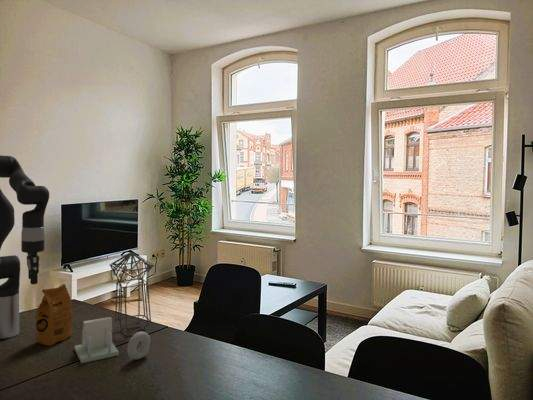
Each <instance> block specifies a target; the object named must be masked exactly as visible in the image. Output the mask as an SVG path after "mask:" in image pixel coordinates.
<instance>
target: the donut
mask: <svg viewBox="0 0 533 400" xmlns="http://www.w3.org/2000/svg"><path fill="white" fill-rule="evenodd" d="M133 334H134V335H132V336H130V337H131V338H130V339H129V340H128V343H127V348H126V351H127V356H128V357H129V358H131V360H136V361H137V360H140V359H143V358H144V357H145V356H146V355H147V353H148V352H149V349H150V346H151V337H150V334H149V333H147V332H146V331H145V332H144V331H143V330H142V331H138V332H135V333H133ZM139 343H140V346H139V348H138V345H139Z"/></svg>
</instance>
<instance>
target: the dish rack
mask: <svg viewBox="0 0 533 400" xmlns="http://www.w3.org/2000/svg"><path fill="white" fill-rule="evenodd" d="M81 327H82V326H81ZM81 329H82V330H81V331H82V334H81V344H77V345H74V351H75V353H76V355H77V357H78V360H79V363H80V364H85V363H89V362H94V361H99V360H102V359H107V358H111V357H118V356H119V355H120V354H119V353H120V352H119V350H118V348H117V347H116V346H115V344H114V342H112V344H111V333H108V328H105V345H103V346H98V347H93V348H91V337H88V332H85V349H84V347H83V327H82V328H81ZM107 338H108V345H107Z"/></svg>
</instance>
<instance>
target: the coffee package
mask: <svg viewBox="0 0 533 400" xmlns="http://www.w3.org/2000/svg"><path fill="white" fill-rule="evenodd" d="M41 292H42V293H43V296H42V299H41V302H40V304H39V306H38V308H37V310H36V315H35V341H36V343H37V344H41V345H44V346H49V347H50V346H53V345H55V344H56V343H58V342H64V341H66V340H67V339H68V338H70V337H72V333H73V332H72V331H73V329H72V327H73V326H72V325H73V312H72V311H73V310H72V308H73V307H72V298H71V297H70V296H71V295H70V293H69V291H68V288H67V286H66V283H62V284H61V285H59V286H57V287H53V288H52V287H51V288H45V289H42V290H41Z"/></svg>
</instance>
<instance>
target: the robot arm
mask: <svg viewBox="0 0 533 400" xmlns="http://www.w3.org/2000/svg"><path fill="white" fill-rule="evenodd" d="M0 178H3V179H5V178H6V179H7V178H9V179H8V183H9V186H10V188H11V189H12V190H13V191H14V192H15V193H16V199H17V202H18V203H19V204H21V205H25V206H26V205H27V206H28V205H30V206H31V205H35V207H33V209H31V210H27V211H25V212H23V213H22V217H21V220H22V223H21V226H22V227H21V241H20V242H21V243H20V244H21V249H20V250H21V252H22V253H27V256H26V266H27V269H28V270H27V271H28V272H27V273H28V275H27V276H28V280H30V281H29V282H30V284H31V285H37V284H38V274H40V273H39V272H40V256H39V255H38V253H41V252H44V251H45V224H44V223H45V220H44V219H45V213H46V210H47V206H48V203H49V201H50V191H49V189H48V188H47V187H46V186H44V185H36V184H35V182H34V181H33V180H32V178H30V177H29V176H27V174H26V173H25V171H24V169H23V168H22V166H21V164H20V163H19V161H18V160H17V158H15V157H14V156H11V155H0ZM14 226H15V209H14V206H13V204H12V203H11V201H10V200H9V199H8V198H7V196H6V195H5V194H4V192H3V191H2V189H1V188H0V250H1V249H2V246H3V244H4V242H5V240H6V239H7V238H8V236H9V234H11V232H12V230H13V229H14ZM3 279H4V280H5V279H7V280H6V281H5V282H3V283H2V284H0V339H1V340H2V339H8V338H13V337H15V336H17V335H19V334H20V284H21V283H20V279H21V260H20V259H19V257H18V255H3V256H0V280H3Z"/></svg>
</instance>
